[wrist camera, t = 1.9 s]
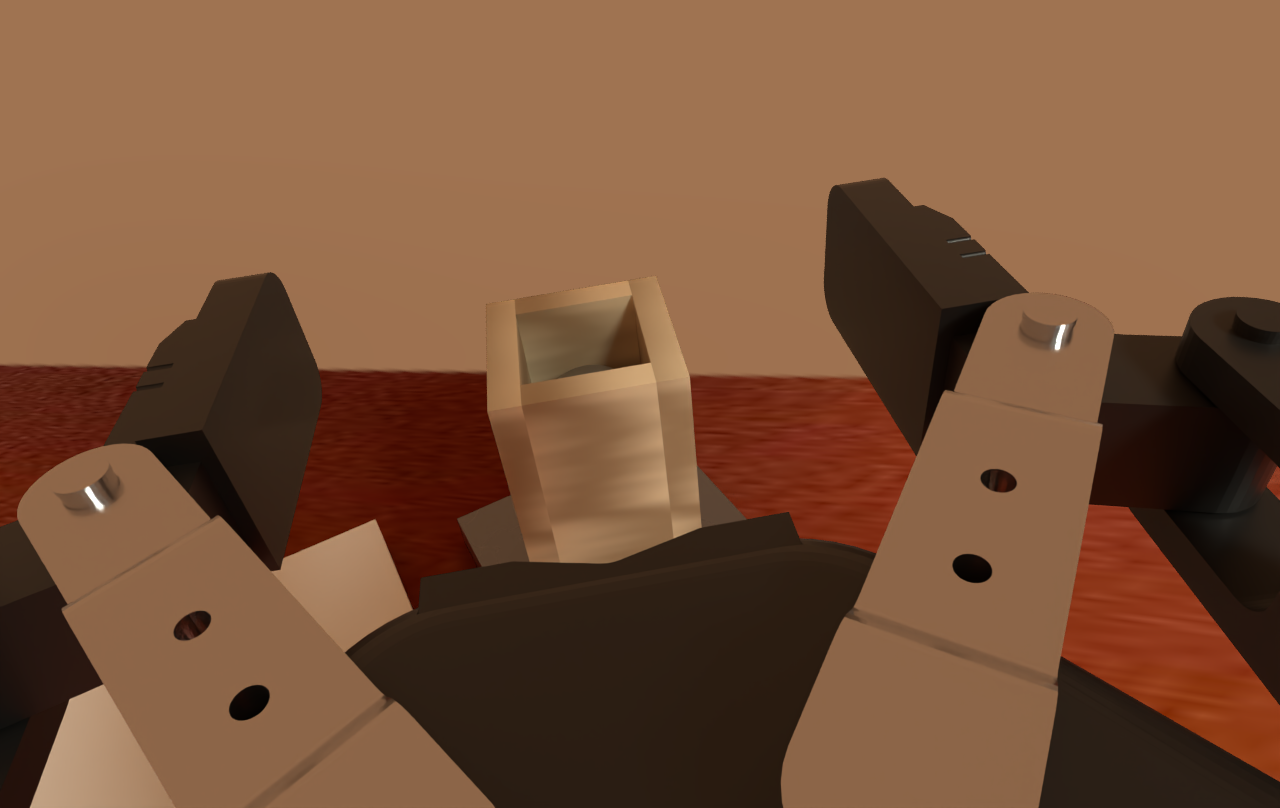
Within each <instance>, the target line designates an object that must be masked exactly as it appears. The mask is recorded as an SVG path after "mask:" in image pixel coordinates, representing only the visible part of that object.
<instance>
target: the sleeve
mask: <svg viewBox="0 0 1280 808" xmlns="http://www.w3.org/2000/svg"><path fill="white" fill-rule="evenodd" d="M486 341H487V412H488V416H489V419H490V423H491V426H492V430H493V433H494V437H495V440H496V444H497V448H498V451H499V455H500V458H501V462H502V465H503V469H504V472H505V476H506V479H507V483H508V487H509V490H510V494H511V497H512V501H513V504H514V508H515V511H516V515H517V518H518V522H519V526H520V529H521V533H522V536H523V540H524V543H525V547H526V550H527V554H528V557H529V561H530V562H559V563H611V562H615V561H618V560H621V559H623V558H626V557H628V556H631V555H633V554H636V553H638V552H641V551H643V550H646V549H648V548H651V547H653V546H656V545H658V544H661V543H663V542H666V541H668V540H671V539H673V538H676V537H678V536H681V535H683V534H686V533H688V532H691V531H693V530H696V529H698V528H702V527H701V514H700V501H699V489H698V476H697V463H696V450H695V438H694V425H693V412H692V399H691V387H690V376H689V373H688V370H687V367H686V364H685V361H684V358H683V355H682V352H681V349H680V346H679V343H678V340H677V337H676V334H675V331H674V328H673V325H672V322H671V319H670V316H669V313H668V310H667V307H666V304H665V301H664V298H663V295H662V292H661V289H660V286H659V283H658V280H657V277H656V276H652V277H645V278H639V279H634V280H628V281H621V282H615V283H609V284H603V285H597V286H591V287H585V288H579V289H573V290H567V291H562V292H556V293H549V294H543V295H537V296H531V297H526V298H520V299H513V300H507V301H501V302H495V303H490V304H486ZM585 365H604V366H608V367H611V368H613V369H612V370H606V371H600V372H594V373H588V374H582V375H577V376H571V377H565V378H559V377H560V376H562V375H563V374H564V373H566V372H568V371H569V370H572V369H574V368H577V367H580V366H585ZM558 378H559V379H558Z"/></svg>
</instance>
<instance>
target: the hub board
mask: <svg viewBox="0 0 1280 808" xmlns="http://www.w3.org/2000/svg"><path fill="white" fill-rule="evenodd" d="M271 572H272V573H273V574H274V575H275V576H276V578H277V579H278V580H279V581H280V582H281V583H282V584H283V585H284V586H285V587H286V589H287V590H288V591H289V592H290V593H291V594H292V595H293V596H294V597H295V599H296V600H297V601H298V602H299V603H300V604H301V605H302V606H303V607H304V608H305V610H306V611H307V612H308V613H309V614H310V615H311V616H312V617H313V618H314V619H315V621H316V622H317V623H318V624H319V625H320V626H321V627H322V628H323V629H324V630H325V632H326V633H327V634H328V635H329V636H330V637H331V638H332V639H333V640H334V641H335V643H336V644H337V645H338V646H339V647H340V648H341V649H342V650H343V651H344V653H345V652H346V651H347V650H348V649H349V648H351V647H352V646H353V645H355V644H356V643H357V642H359V641H360V640H361V639H362V638H364V637H365V636H366V635H368V634H370V633H371V632H373V631H374V630H376V629H377V628H379V627H381V626H382V625H384V624H385V623H387V622H389V621H391V620H393V619H395V618H397V617H399V616H401V615H403V614H405V613H407V612H409V611H412V610H413V608H412V606H411V603H410V601H409V598H408V596H407V593H406V591H405V589H404V586H403V584H402V581H401V579H400V576H399V574H398V571H397V569H396V567H395V564H394V562H393V559H392V557H391V554H390V552H389V550H388V547H387V545H386V542H385V540H384V538H383V535H382V533H381V531H380V529H379V526H378V524H377V522H376V519H375V520H372V521H370V522H368V523H365V524H363V525H361V526H358V527H356V528H354V529H351V530H349V531H347V532H344V533H342V534H340V535H337V536H335V537H333V538H330V539H328V540H325V541H323V542H321V543H318V544H316V545H314V546H311V547H309V548H307V549H304V550H302V551H300V552H297V553H295V554H293V555H290V556H288V557H286V558H283V561H282V566H281V570H277V571H271ZM30 808H175V806H174V805H173V803H172V801H171V799H170V798H169V796H168V794H167V792H166V791H165V789H164V787H163V786H162V784H161V782H160V780H159V779H158V777H157V775H156V773H155V772H154V770H153V768H152V767H151V765H150V763H149V761H148V760H147V758H146V756H145V755H144V753H143V751H142V749H141V748H140V746H139V744H138V742H137V741H136V739H135V737H134V736H133V734H132V732H131V730H130V729H129V727H128V725H127V724H126V722H125V720H124V718H123V717H122V715H121V713H120V711H119V710H118V708H117V706H116V705H115V703H114V701H113V699H112V698H111V696H110V694H109V693H108V691H107V689H106V687H105V686H104V684H103V685H101V686H99V687H97V688H94V689H92V690H90V691H87V692H85V693H83V694H81V695H78V696H76V697H74V698H71V699H69V703H68V706H67V709H66V711H65V714H64V717H63V720H62V722H61V725H60V728H59V730H58V733H57V736H56V739H55V741H54V744H53V747H52V749H51V752H50V755H49V757H48V760H47V763H46V766H45V768H44V771H43V774H42V776H41V779H40V782H39V785H38V787H37V790H36V793H35V795H34V798H33V801H32V804H31V806H30Z"/></svg>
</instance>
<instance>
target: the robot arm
mask: <svg viewBox="0 0 1280 808" xmlns="http://www.w3.org/2000/svg"><path fill="white" fill-rule="evenodd" d="M824 270H825V271H824V291H825V299H826V304H827V308H828V311H829V314H830V317H831V319H832V321H833V323H834V324H835V326H836V328H837V329H838V331H839V332H840V334H841V336H842V337H843V339H844V340H845V342H846V344H847V345H848V347H849V348H850V350H851V352H852V353H853V355H854V356H855V358H856V359H857V361H858V363H859V364H860V366H861V368H862V369H863V371H864V373H865V374H866V376H867V377H868V379H869V381H870V382H871V384H872V385H873V387H874V389H875V390H876V392H877V393H878V395H879V397H880V398H881V400H882V402H883V403H884V405H885V406H886V408H887V410H888V411H889V413H890V414H891V416H892V418H893V419H894V421H895V422H896V424H897V426H898V427H899V429H900V430H901V432H902V434H903V435H904V437H905V438H906V440H907V442H908V443H909V445H910V447H911V448H912V450H913V451H914V453H915V455H916V456H917V457H916V459H915V462H914V464H913V466H912V469H911V471H910V474H909V476H908V479H907V481H906V483H905V486H904V488H903V491H902V493H901V496H900V498H899V500H898V503H897V505H896V508H895V510H894V513H893V515H892V517H891V520H890V522H889V525H888V527H887V530H886V532H885V534H884V537H883V539H882V542H881V544H880V547H879V549H878V551H877V554H876V553H873V552H870V551H867V550H864V549H861V548H858V547H855V546H850V545H846V544H841V543H837V542H831V541H824V540H816V539H799V536H798V534H797V531H796V529H795V526H794V524H793V521H792V519H791V516H790V514H789V512H786V513H780V514H774V515H769V516H763V517H758V518H752V519H747V520H741V521H735V522H730V523H724V524H719V525H713V526H708V527H702V528H698V529H696V530H693V531H691V532H688V533H686V534H683V535H681V536H678V537H676V538H673V539H671V540H668V541H666V542H663V543H661V544H658V545H656V546H653V547H651V548H648V549H646V550H643V551H641V552H638V553H636V554H633V555H631V556H628V557H626V558H623V559H621V560H618V561H615V562H611V563H559V562H518V561H512V562H507V563H501V564H495V565H490V566H484V567H479V568H473V569H468V570H462V571H456V572H451V573H445V574H440V575H434V576H429V577H423V578H421V582H420V596H419V608H417V609H414V610H412V611H409V612H407V613H405V614H403V615H401V616H399V617H397V618H395V619H393V620H391V621H389V622H387V623H385V624H384V625H382V626H381V627H379V628H377V629H376V630H374V631H373V632H371V633H370V634H368V635H366V636H365V637H364V638H362V639H361V640H360V641H359V642H357V643H356V644H355V645H353V646H352V647H351V648H349V649H348V650H347V651H346V652H345V653H344V651H343V650H342V649H341V648H340V647H339V646H338V645H337V644H336V643H335V641H334V640H333V639H332V638H331V637H330V636H329V635H328V634H327V633H326V632H325V630H324V629H323V628H322V627H321V626H320V625H319V624H318V623H317V622H316V621H315V619H314V618H313V617H312V616H311V615H310V614H309V613H308V612H307V611H306V610H305V608H304V607H303V606H302V605H301V604H300V603H299V602H298V601H297V600H296V599H295V597H294V596H293V595H292V594H291V593H290V592H289V591H288V590H287V589H286V587H285V586H284V585H283V584H282V583H281V582H280V581H279V580H278V579H277V578H276V576H275V575H274V574H273V573H272V572H271V571H277V570H281V566H282V561H283V557H284V553H285V549H286V545H287V541H288V537H289V533H290V529H291V525H292V521H293V517H294V513H295V509H296V505H297V501H298V496H299V492H300V488H301V484H302V480H303V476H304V472H305V468H306V464H307V460H308V456H309V452H310V448H311V444H312V440H313V435H314V431H315V427H316V423H317V419H318V415H319V411H320V407H321V402H322V388H321V380H320V375H319V371H318V368H317V364H316V362H315V359H314V357H313V354H312V352H311V350H310V347H309V345H308V342H307V340H306V338H305V335H304V333H303V331H302V328H301V326H300V324H299V321H298V319H297V316H296V314H295V312H294V309H293V307H292V304H291V302H290V299H289V297H288V295H287V292H286V290H285V288H284V286H283V284H282V282H281V280H280V279H279V278H278V277H277V276H276V275H275V274H274V273H271V272H270V273H264V274H257V275H251V276H244V277H238V278H232V279H225V280H219V281H217V282H215V283H214V285H213V287H212V289H211V291H210V293H209V295H208V297H207V299H206V301H205V303H204V305H203V307H202V308H201V310H200V312H199V314H198V317H197V318H196V319H194V320H188V321H185V322H184V323H183V324H182V325H181V326H179V327H178V328H177V329H176V330H175V331H173V332H172V333H171V334H170V335H169V336H168V337H167V338H165V339H164V340H163V341H162V342H161V343H160V344H159V346H158V347H157V349H156V351H155V353H154V355H153V357H152V358H151V360H150V362H149V364H148V366H147V367H146V368H147V372H144V373H143V375H142V376H141V378H140V380H139V382H138V384H137V386H136V389H137V391H136V392H133V393H132V395H131V397H130V398H129V400H128V402H127V404H126V406H125V408H124V409H123V411H122V413H121V415H120V417H119V419H118V420H117V422H116V424H115V426H114V428H113V430H112V431H111V433H110V435H109V437H108V439H107V441H106V442H105V444H104V446H102V447H99V448H95V449H92V450H89V451H86V452H83V453H81V454H78V455H76V456H74V457H72V458H70V459H68V460H66V461H64V462H62V463H61V464H59V465H57V466H56V467H54V468H53V469H51V470H50V471H48V472H47V473H45V474H44V475H43V476H42V477H40V478H39V479H38V480H37V481H36V482H35V483H34V484H33V485H32V486H31V487H30V488H29V489H28V491H27V492H26V493H25V494H24V496H23V498H22V499H21V501H20V503H19V506H18V510H17V518H18V520H17V521H15V522H13V523H10V524H7V525H4V526H2V527H0V808H30V806H31V804H32V801H33V798H34V795H35V793H36V790H37V787H38V785H39V782H40V779H41V776H42V774H43V771H44V768H45V766H46V763H47V760H48V757H49V755H50V752H51V749H52V747H53V744H54V741H55V739H56V736H57V733H58V730H59V728H60V725H61V722H62V720H63V717H64V714H65V711H66V709H67V706H68V703H69V699H71V698H74V697H76V696H78V695H81V694H83V693H85V692H87V691H90V690H92V689H94V688H97V687H99V686H101V685H103V684H104V686H105V687H106V689H107V691H108V693H109V694H110V696H111V698H112V699H113V701H114V703H115V705H116V706H117V708H118V710H119V711H120V713H121V715H122V717H123V718H124V720H125V722H126V724H127V725H128V727H129V729H130V730H131V732H132V734H133V736H134V737H135V739H136V741H137V742H138V744H139V746H140V748H141V749H142V751H143V753H144V755H145V756H146V758H147V760H148V761H149V763H150V765H151V767H152V768H153V770H154V772H155V773H156V775H157V777H158V779H159V780H160V782H161V784H162V786H163V787H164V789H165V791H166V792H167V794H168V796H169V798H170V799H171V801H172V803H173V805H174V806H175V808H1280V782H1279V781H1277V780H1275V779H1274V778H1272V777H1270V776H1268V775H1267V774H1265V773H1263V772H1261V771H1260V770H1258V769H1256V768H1254V767H1253V766H1251V765H1249V764H1247V763H1246V762H1244V761H1242V760H1241V759H1239V758H1237V757H1235V756H1234V755H1232V754H1230V753H1228V752H1227V751H1225V750H1223V749H1221V748H1220V747H1218V746H1216V745H1214V744H1213V743H1211V742H1209V741H1207V740H1206V739H1204V738H1202V737H1200V736H1199V735H1197V734H1195V733H1194V732H1192V731H1190V730H1188V729H1187V728H1185V727H1183V726H1181V725H1180V724H1178V723H1176V722H1174V721H1173V720H1171V719H1169V718H1167V717H1166V716H1164V715H1162V714H1160V713H1159V712H1157V711H1155V710H1153V709H1152V708H1150V707H1148V706H1147V705H1145V704H1143V703H1141V702H1140V701H1138V700H1136V699H1134V698H1133V697H1131V696H1129V695H1127V694H1126V693H1124V692H1122V691H1120V690H1119V689H1117V688H1115V687H1114V686H1112V685H1110V684H1108V683H1107V682H1105V681H1103V680H1101V679H1100V678H1098V677H1096V676H1094V675H1093V674H1091V673H1089V672H1087V671H1086V670H1084V669H1082V668H1080V667H1079V666H1077V665H1075V664H1074V663H1072V662H1070V661H1068V660H1067V659H1065V658H1063V657H1061V651H1062V646H1063V641H1064V635H1065V630H1066V624H1067V619H1068V613H1069V608H1070V603H1071V597H1072V592H1073V586H1074V581H1075V576H1076V570H1077V565H1078V559H1079V554H1080V548H1081V543H1082V538H1083V532H1084V527H1085V521H1086V516H1087V511H1088V505H1089V504H1092V505H1107V506H1121V507H1129V509H1130V510H1131V512H1132V513H1133V515H1134V516H1135V517H1136V519H1137V520H1138V521H1139V522H1140V524H1141V525H1142V526H1143V528H1144V529H1145V530H1146V532H1147V533H1148V534H1149V535H1150V537H1151V538H1152V539H1153V541H1154V542H1155V543H1156V545H1157V546H1158V547H1159V548H1160V550H1161V551H1162V552H1163V554H1164V555H1165V556H1166V558H1167V559H1168V560H1169V562H1170V563H1171V564H1172V565H1173V567H1174V568H1175V569H1176V571H1177V572H1178V573H1179V575H1180V576H1181V577H1182V578H1183V580H1184V581H1185V582H1186V584H1187V585H1188V586H1189V588H1190V589H1191V590H1192V591H1193V593H1194V594H1195V595H1196V597H1197V598H1198V599H1199V601H1200V602H1201V603H1202V605H1203V606H1204V607H1205V608H1206V610H1207V611H1208V612H1209V614H1210V615H1211V616H1212V618H1213V619H1214V620H1215V621H1216V623H1217V624H1218V625H1219V627H1220V628H1221V629H1222V631H1223V632H1224V633H1225V635H1226V636H1227V637H1228V638H1229V640H1230V641H1231V642H1232V644H1233V645H1234V646H1235V648H1236V649H1237V650H1238V651H1239V653H1240V654H1241V655H1242V657H1243V658H1244V659H1245V661H1246V662H1247V663H1248V664H1249V666H1250V667H1251V668H1252V670H1253V671H1254V672H1255V674H1256V675H1257V676H1258V678H1259V679H1260V680H1261V681H1262V683H1263V684H1264V685H1265V687H1266V688H1267V689H1268V691H1269V692H1270V693H1271V694H1272V696H1273V697H1274V698H1275V700H1276V701H1277V702H1278V704H1279V705H1280V500H1279V499H1278V498H1277V497H1276V496H1275V495H1274V494H1273V493H1272V492H1271V491H1270V490H1269V489H1268V488H1267V487H1266V486H1267V484H1268V482H1269V481H1270V479H1271V477H1272V475H1273V473H1274V471H1275V469H1276V467H1277V466H1278V467H1279V468H1280V303H1278V302H1274V301H1270V300H1264V299H1258V298H1248V297H1227V298H1219V299H1214V300H1210V301H1207V302H1204V303H1202V304H1200V305H1198V306H1197V307H1196V308H1195V309H1194V310H1193V311H1192V313H1191V315H1190V317H1189V320H1188V323H1187V325H1186V328H1185V330H1184V333H1183V336H1182V337H1181V336H1149V335H1148V336H1147V335H1121V334H1114V329H1113V326H1112V324H1111V322H1110V321H1109V319H1108V318H1107V317H1106V316H1105V315H1104V314H1103V313H1101V312H1100V311H1099V310H1097V309H1096V308H1094V307H1092V306H1090V305H1088V304H1087V303H1084V302H1081V301H1079V300H1076V299H1073V298H1069V297H1065V296H1061V295H1056V294H1048V293H1029V292H1027V291H1026V290H1025V289H1024V288H1023V287H1022V286H1021V285H1020V284H1019V283H1018V282H1017V281H1016V280H1015V279H1014V278H1013V277H1012V276H1011V275H1010V274H1009V273H1008V272H1007V271H1006V270H1005V269H1004V268H1003V267H1002V266H1001V265H1000V264H999V263H998V262H997V261H996V260H995V259H994V258H993V257H992V256H991V255H990V254H987V255H986V252H985V249H984V248H983V247H982V246H981V245H980V244H979V243H978V242H976V241H975V240H971V236H970V235H969V234H968V233H967V232H966V231H965V230H964V229H963V228H962V227H961V226H960V225H959V224H958V223H957V222H956V221H955V220H954V219H953V218H951V217H949V216H946V215H944V214H942V213H940V212H937V211H935V210H933V209H931V208H929V207H927V206H924V205H921V206H915V207H914V206H913V205H912V204H911V203H910V202H909V201H908V200H907V199H906V198H905V197H904V196H903V195H902V194H901V193H900V192H899V191H898V190H897V189H896V188H895V187H894V186H893V185H892V184H891V183H890V182H889V180H887V179H886V178H880V179H873V180H867V181H861V182H854V183H848V184H842V185H835V186H833V187H832V189H831V191H830V194H829V199H828V210H827V230H826V249H825V269H824Z"/></svg>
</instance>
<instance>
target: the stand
mask: <svg viewBox="0 0 1280 808" xmlns="http://www.w3.org/2000/svg"><path fill="white" fill-rule="evenodd" d="M612 369H613V368H611V367H608V366H604V365H585V366H580V367H577V368H574V369H572V370H569V371H568V372H566V373H564V374H563V375H562V376H560V377H559V378H565V377H571V376H577V375H582V374H588V373H594V372H600V371H606V370H612ZM559 378H558V379H559ZM697 476H698V489H699V501H700V514H701V527H708V526H713V525H719V524H724V523H730V522H735V521H741V520H747V519H746V518H745V517H744V516H743V515H742V514H741V513H740V512H739V511H738V509H737V508H736V507H735V506H734V505H733V504H732V503H731V502H730V501H729V500H728V499H727V498H726V496H725V495H724V494H723V493H722V492H721V491H720V490H719V489H718V488H717V487H716V486H715V485H714V483H713V482H712V481H711V480H710V479H709V478H708V477H707V476H706V475H705V474H704V473H703V471H702V470H701V469H700V468H699V467H698V466H697ZM457 521H458V524H459V526H460V529H461V532H462V535H463V538H464V541H465V543H466V545H467V547H468V549H469V551H470V553H471V555H472V557H473V559H474V561H475V563H476V565H477V567H478V568H479V567H484V566H490V565H495V564H501V563H507V562H512V561H518V562H530V561H529V557H528V554H527V550H526V547H525V543H524V540H523V536H522V533H521V529H520V526H519V522H518V518H517V515H516V511H515V508H514V504H513V501H512V497H511V495H510V496H508V497H505V498H503V499H501V500H499V501H496V502H494V503H492V504H490V505H487V506H485V507H483V508H480V509H478V510H476V511H474V512H471V513H469V514H467V515H465V516H462V517H460V518H458V519H457Z"/></svg>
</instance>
